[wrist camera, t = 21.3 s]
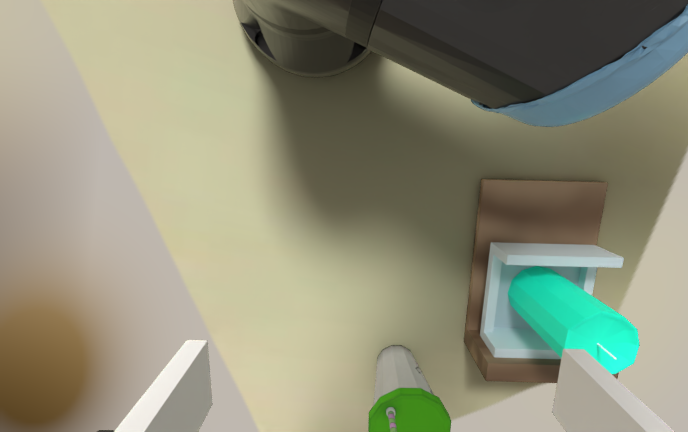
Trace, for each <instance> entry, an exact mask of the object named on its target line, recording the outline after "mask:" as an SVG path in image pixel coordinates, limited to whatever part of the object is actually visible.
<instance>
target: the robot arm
mask: <svg viewBox="0 0 688 432" xmlns="http://www.w3.org/2000/svg"><path fill="white" fill-rule="evenodd" d="M233 4H234V8H235V11H236V14H237V17H238V19H239V21H240V24H241V26H242V28H243V30H244V31H245V33H246V35H247V36H248V38H249V39H250V41H251V42H252V43H253V44H254V46H255V47H256V48H257V49H258V50H259V51H260V52H261V53H262V54H263V55H264V56H265V57H266V58H268V59H269V60H270V61H271V62H272V63H274V64H275V65H277V66H278V67H280V68H282V69H284V70H286V71H288V72H291V73H293V74H297V75H300V76H306V77H327V76H332V75H336V74H339V73H342V72H344V71H346V70H348V69H350V68H352V67H354V66H355V65H357V64H358V63H359V62H361V61H362V60H363V59H364V58H365V57H367V55H368V54H369V53H370V52H371V51H373V52H375V53H377V54H379V55H381V56H383V57H385V58H387V59H389V60H391V61H393V62H395V63H397V64H399V65H402V66H404V67H406V68H408V69H410V70H412V71H414V72H416V73H418V74H420V75H422V76H424V77H426V78H428V79H430V80H432V81H435V82H437V83H439V84H441V85H443V86H445V87H447V88H449V89H451V90H453V91H455V92H457V93H459V94H461V95H463V96H465V97H468V98H470V99H471V102H472V103H473V104H474V105H476V106H477V107H479V108H481V109H483V110H486V111H492V112H496V113H502V114H504V115H506V116H509V117H511V118H513V119H516V120H518V121H520V122H522V123H525V124H528V125H532V126H545V127H554V126H563V125H567V124H572V123H576V122H579V121H582V120H585V119H588V118H590V117H593V116H595V115H597V114H600V113H602V112H604V111H606V110H608V109H610V108H612V107H614V106H615V105H617V104H619V103H621V102H623V101H624V100H626V99H628V98H629V97H631V96H633V95H634V94H636V93H637V92H639V91H640V90H642V89H643V88H645V87H646V86H648V85H649V84H650V83H652V82H653V81H655V80H656V79H657V78H658V77H660V76H661V75H662V74H664V73H665V72H666V71H667V70H669V69H670V68H671V67H672V66H673V65H675V64H676V63H677V62H678V61H679V60H680V59H681V58H682V57H683V56H685V55H686V54H687V53H688V0H233ZM211 406H212V393H211V380H210V366H209V354H208V341H207V340H206V341H205V340H187V341H186V342H185V343H184V344H183V346H182V347H181V348H180V349H179V351H178V352H177V353H176V354H175V356H174V357H173V358H172V359H171V361H170V362H169V363H168V365H167V366H166V367H165V368H164V370H163V371H162V372H161V373H160V375H159V376H158V377H157V378H156V380H155V381H154V382H153V383H152V385H151V386H150V387H149V388H148V390H147V391H146V392H145V393H144V395H143V396H142V397H141V398H140V400H139V401H138V402H137V404H136V405H135V406H134V408H133V409H132V410H131V411H130V412H129V414H128V415H127V416H126V417H125V419H124V420H123V421H122V422H121V424H120V425H119V426H118V427H117V429H116V430H115V431H113V430H99V431H98V432H198V431H199V429H200V427H201V425H202V423H203V422H204V420H205V418H206V416H207V414H208V412H209V410H210V408H211ZM552 413H553V415H554V416H555V417H556V419H557V420H558V421H559V423H560V424H561V425H562V427H563V428H564V430H565V431H566V432H675V431H674V430H672V429H671V428H670V427H669V426H668V425H667V424H666V423H665V422H664V421H662V420H661V419H660V418H659V417H658V416H657V415H656V414H655V413H654V412H653V411H651V410H650V409H649V408H648V407H647V406H646V405H645V404H643V403H642V401H640V400H639V399H638V398H637V397H636V396H635V395H634V394H633V393H632V392H631V391H629V390H628V389H627V388H626V387H625V386H624V385H623V384H622V383H621V382H620V381H618V380H617V379H616V378H615V377H614V376H613V375H612V374H611V373H610V372H609V371H608V370H606V369H605V368H604V367H603V366H602V365H601V364H600V363H599V362H598V361H597V360H595V359H594V358H593V357H592V356H591V355H590V354H589V353H588V352H587V351H586V350H584V349H563V353H562V358H561V364H560V370H559V376H558V381H557V387H556V394H555V399H554V405H553V411H552Z"/></svg>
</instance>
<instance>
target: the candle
mask: <svg viewBox="0 0 688 432" xmlns="http://www.w3.org/2000/svg"><path fill="white" fill-rule="evenodd" d="M508 297H509V301H510V305H511V306H512V307H513V308H514V309H515V310H516V311H517V312H518V314H519V315H520V316H521V317H522V318H523V319H524V320H525V321H526V322H527V323H528V324H529V325H530V326H531V327H532V328H533V329H534V330H535V331H536V332H537V333H538V334H539V335H540V337H541V338H542V339H543V340H544V341H545V342H546V343H547V344H548V345H549V346H550V347H551V348H552V349H553V350H554V351H555V352H556V353H557V354H558V355H559V356H560V357H561V358H562V353H563V349H584V350H586V351H587V352H588V353H589V354H590V355H591V356H592V357H593V358H594V359H595V360H597V361H598V362H599V363H600V364H601V365H602V366H603V367H604V368H605V369H606V370H608V371H609V372H610V373H611V374H616V373H618V372H620V371H621V370H623V369H625V368H627V367H628V366H630V365H632V364H633V363H634V361H635V358H636V355H637V351H638V348H639V339H638V331H637V329H636V328H635V327H634V326H633V325H632V324H631V323H630V322H629V321H628V320H627V319H626V318H625V317H624V316H622V315H620V314H619V313H617V312H616V311H614V310H613V309H611V308H610V307H608V306H607V305H605V304H604V303H602V302H601V301H599V300H598V299H596V298H595V297H593V296H592V295H590V294H588V293H587V292H585V291H584V290H582V289H581V288H579V287H578V286H576V285H575V284H573V283H572V282H570V281H569V280H567V279H566V278H564V277H563V276H561V275H560V274H558V273H556V272H555V271H553V270H552V269H550V268H545V267H540V266H535V267H531V268H528V269H524V270H522V271H521V272H520V273H519V274H518V275H517V276H516V277H514V278H513V279H512V281H511V284H510V287H509V290H508Z"/></svg>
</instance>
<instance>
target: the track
mask: <svg viewBox="0 0 688 432" xmlns="http://www.w3.org/2000/svg"><path fill="white" fill-rule="evenodd" d="M607 186H608V183H606V182H583V181H540V180H497V179H481V187H480V196H479V206H478V215H477V224H476V234H475V243H474V252H473V261H472V271H471V280H470V289H469V298H468V308H467V317H466V326H465V336H464V343H465V344H466V346H467V348H468V350H469V351H470V353H471V355H472V357H473V359H474V360H475V362H476V364H477V366H478V368H479V369H480V371H481V373H482V375H483V376H484V378H485V380H486V381H509V382H544V383H557V381H558V376H559V370H560V364H561V359H535V358H499V357H494V356H493V355H492V353H491V352H490V350H489V349H488V347H487V346H486V344H485V343H484V341H483V340H482V338H481V336H480V329H481V320H482V312H483V303H484V295H485V287H486V278H487V270H488V261H489V253H490V244H491V242H499V243H538V244H578V245H597V239H598V234H599V229H600V223H601V218H602V213H603V207H604V202H605V197H606V191H607ZM618 373H619V372H618ZM618 373H616V374H612V375H613V376H614V377H615V378H616V379H617V378H618Z"/></svg>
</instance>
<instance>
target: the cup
mask: <svg viewBox="0 0 688 432" xmlns="http://www.w3.org/2000/svg"><path fill="white" fill-rule="evenodd" d="M450 428H451V420H450V417H449V414H448V412H447V410H446V409H445V407H444V405H443V404H442V402H441V400H440V399H439V397H437V396H435V395H434V394H433V392H432V390H431V388H430V386H429V385H428V383H427V381H426V379H425V377H424V375H423V373H422V371H421V369H420V368H419V366H418V364H417V362H416V360H415V358H414V356H413V355H412V353H411V351H410V350H409V349H407V348H405V347H403V346H401V345H391V346H389V347H387V348H385V349H383V350H382V351H381V353H380V354H379V356H378V359H377V371H376V382H375V394H374V406H373V407H372V409H371V410H370V412H369V432H450Z"/></svg>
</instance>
